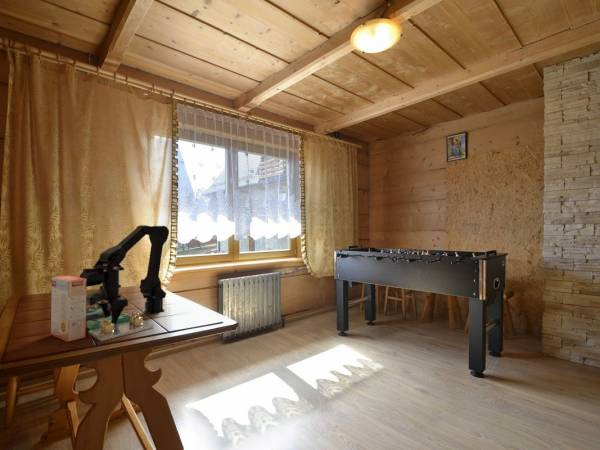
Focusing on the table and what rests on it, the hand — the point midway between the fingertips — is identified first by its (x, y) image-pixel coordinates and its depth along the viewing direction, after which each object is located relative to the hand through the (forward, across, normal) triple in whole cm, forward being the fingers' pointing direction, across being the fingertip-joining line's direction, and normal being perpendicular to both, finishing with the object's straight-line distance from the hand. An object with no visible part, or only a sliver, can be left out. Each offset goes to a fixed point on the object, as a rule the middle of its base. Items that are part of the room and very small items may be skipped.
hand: (110, 322), depth 121 cm
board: (+1, 0, 0) cm, 1 cm away
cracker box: (+1, +3, -14) cm, 15 cm away
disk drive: (+2, -21, 0) cm, 21 cm away
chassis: (+1, +11, 0) cm, 11 cm away
